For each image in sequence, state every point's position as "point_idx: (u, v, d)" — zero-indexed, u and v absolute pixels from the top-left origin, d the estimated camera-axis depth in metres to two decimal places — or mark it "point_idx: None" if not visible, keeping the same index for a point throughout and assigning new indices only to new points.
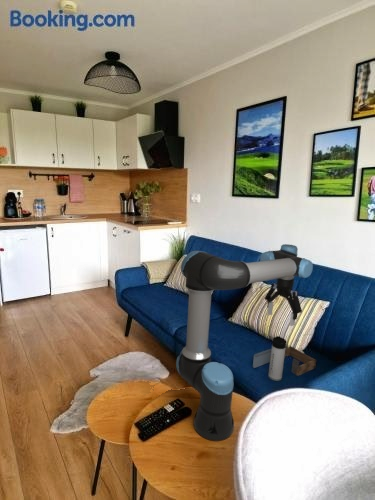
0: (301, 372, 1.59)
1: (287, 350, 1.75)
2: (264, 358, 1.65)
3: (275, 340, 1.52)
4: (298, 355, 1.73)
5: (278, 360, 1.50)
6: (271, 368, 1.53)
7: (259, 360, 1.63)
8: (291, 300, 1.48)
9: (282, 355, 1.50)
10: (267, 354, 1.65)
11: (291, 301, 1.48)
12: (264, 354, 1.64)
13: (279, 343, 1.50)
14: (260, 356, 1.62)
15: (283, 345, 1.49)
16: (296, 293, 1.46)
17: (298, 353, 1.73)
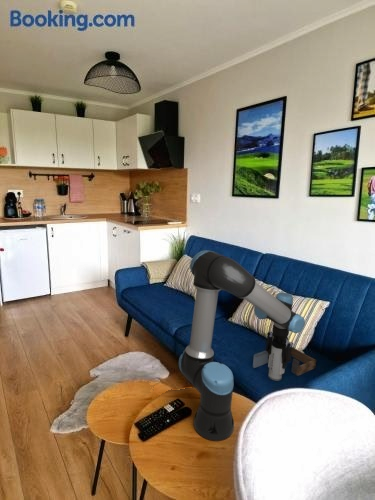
0: (301, 372, 1.59)
1: None
2: (264, 358, 1.65)
3: None
4: (298, 355, 1.73)
5: (278, 359, 1.51)
6: (271, 368, 1.53)
7: (259, 360, 1.63)
8: (284, 349, 1.50)
9: None
10: (267, 354, 1.65)
11: (284, 350, 1.50)
12: (264, 354, 1.64)
13: None
14: (260, 356, 1.62)
15: (283, 345, 1.49)
16: (291, 345, 1.47)
17: (298, 353, 1.73)
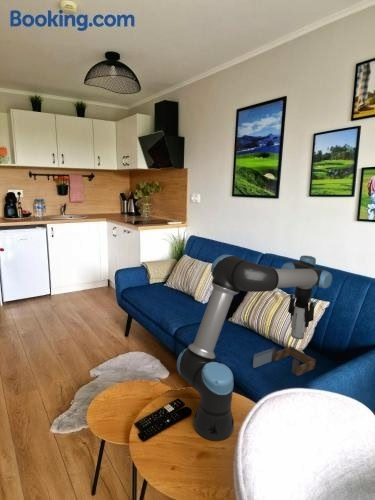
0: (301, 372, 1.59)
1: (287, 350, 1.75)
2: (264, 358, 1.65)
3: (298, 301, 1.62)
4: (298, 355, 1.73)
5: (301, 319, 1.60)
6: (294, 327, 1.62)
7: (259, 360, 1.63)
8: (306, 309, 1.59)
9: None
10: (267, 354, 1.65)
11: (306, 310, 1.59)
12: (264, 354, 1.64)
13: None
14: (260, 356, 1.62)
15: (306, 305, 1.59)
16: (313, 304, 1.56)
17: (298, 353, 1.73)
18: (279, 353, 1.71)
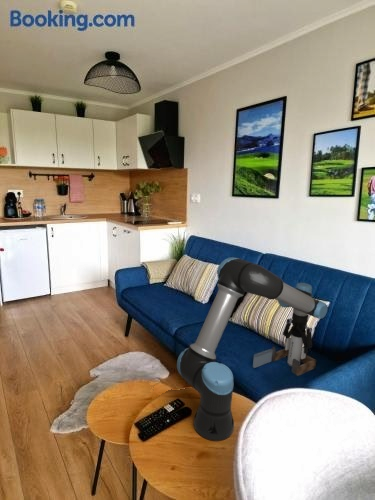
0: (301, 372, 1.59)
1: (287, 350, 1.75)
2: (264, 358, 1.65)
3: (294, 329, 1.65)
4: None
5: (297, 347, 1.63)
6: (290, 355, 1.66)
7: (259, 360, 1.63)
8: (304, 335, 1.61)
9: (301, 343, 1.63)
10: (267, 354, 1.65)
11: (304, 336, 1.61)
12: (264, 354, 1.64)
13: (298, 332, 1.63)
14: (260, 356, 1.62)
15: None
16: (310, 330, 1.58)
17: None
18: (279, 353, 1.71)
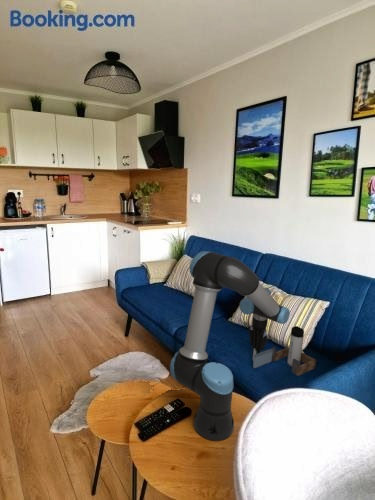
0: (301, 372, 1.59)
1: (287, 350, 1.75)
2: (264, 358, 1.65)
3: (294, 329, 1.65)
4: None
5: (297, 347, 1.63)
6: (290, 355, 1.66)
7: (259, 360, 1.63)
8: (260, 339, 1.63)
9: (300, 343, 1.63)
10: (267, 354, 1.65)
11: (259, 340, 1.63)
12: (264, 354, 1.64)
13: (298, 332, 1.63)
14: (260, 356, 1.62)
15: (301, 334, 1.62)
16: (267, 337, 1.59)
17: None
18: (279, 353, 1.71)
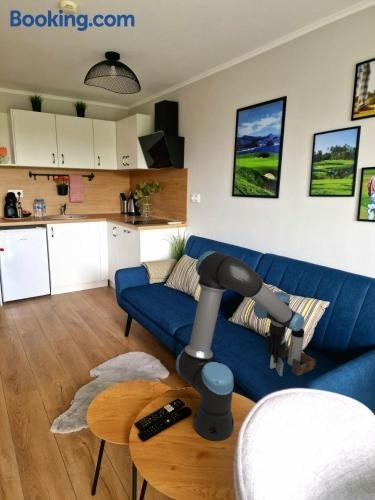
0: (301, 372, 1.59)
1: (287, 350, 1.75)
2: None
3: None
4: None
5: (297, 347, 1.63)
6: (290, 355, 1.66)
7: None
8: (278, 346, 1.56)
9: (301, 343, 1.63)
10: None
11: (277, 347, 1.56)
12: None
13: (298, 332, 1.63)
14: None
15: (302, 334, 1.62)
16: (286, 344, 1.53)
17: None
18: None
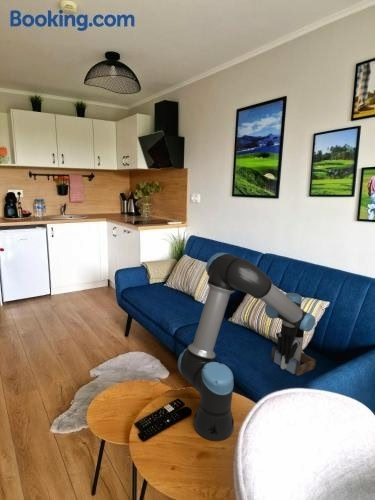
0: (301, 372, 1.59)
1: None
2: None
3: None
4: None
5: (297, 347, 1.63)
6: None
7: None
8: (289, 347, 1.57)
9: (300, 343, 1.63)
10: None
11: (289, 348, 1.57)
12: None
13: (298, 332, 1.63)
14: None
15: (301, 334, 1.62)
16: (297, 345, 1.53)
17: None
18: None
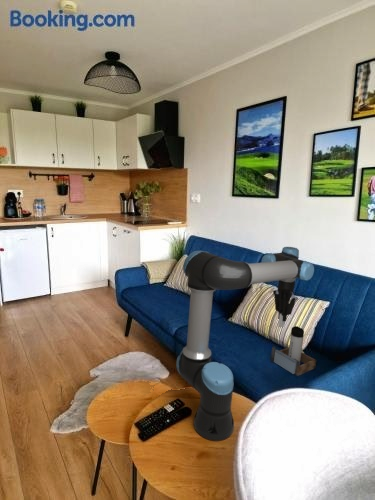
0: (301, 372, 1.59)
1: (287, 350, 1.75)
2: None
3: (294, 329, 1.65)
4: None
5: (297, 347, 1.63)
6: (290, 355, 1.66)
7: None
8: (287, 303, 1.52)
9: (300, 343, 1.63)
10: None
11: (286, 304, 1.51)
12: None
13: (298, 332, 1.63)
14: None
15: (301, 334, 1.62)
16: (295, 300, 1.48)
17: None
18: None
